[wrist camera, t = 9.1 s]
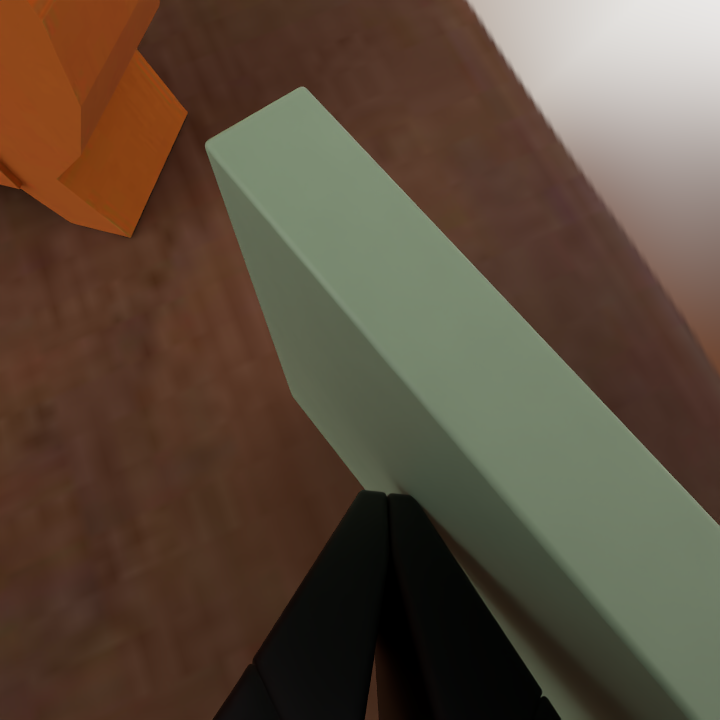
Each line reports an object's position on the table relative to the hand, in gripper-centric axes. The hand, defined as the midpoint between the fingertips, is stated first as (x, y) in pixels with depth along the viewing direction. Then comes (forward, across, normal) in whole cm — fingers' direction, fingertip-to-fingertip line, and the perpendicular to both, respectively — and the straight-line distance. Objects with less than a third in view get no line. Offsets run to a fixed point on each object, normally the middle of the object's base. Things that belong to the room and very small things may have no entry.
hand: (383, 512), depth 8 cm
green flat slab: (+3, -4, +5) cm, 7 cm away
